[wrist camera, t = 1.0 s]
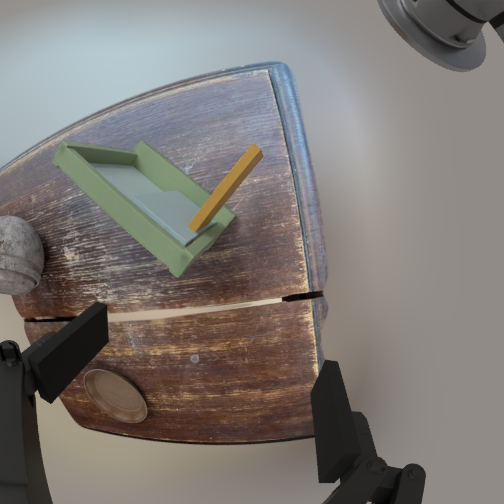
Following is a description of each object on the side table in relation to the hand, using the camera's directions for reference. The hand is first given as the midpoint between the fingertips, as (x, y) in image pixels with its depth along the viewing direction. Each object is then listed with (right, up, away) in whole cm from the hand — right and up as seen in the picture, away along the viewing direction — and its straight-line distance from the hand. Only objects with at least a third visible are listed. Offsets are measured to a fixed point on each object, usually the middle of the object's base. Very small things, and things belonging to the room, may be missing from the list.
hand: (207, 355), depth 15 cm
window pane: (-2, +15, +19) cm, 25 cm away
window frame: (-8, +14, +22) cm, 27 cm away
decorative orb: (-39, +7, +26) cm, 48 cm away
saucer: (-25, -23, +33) cm, 47 cm away
